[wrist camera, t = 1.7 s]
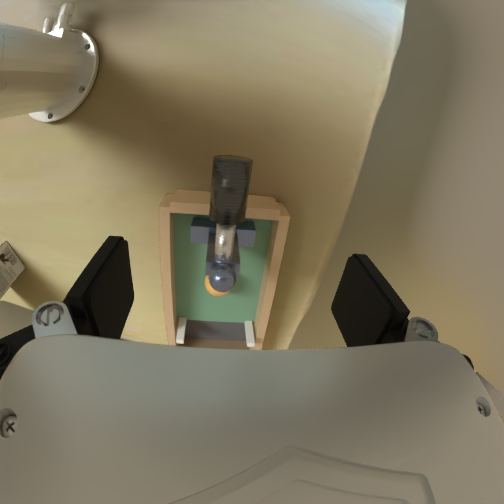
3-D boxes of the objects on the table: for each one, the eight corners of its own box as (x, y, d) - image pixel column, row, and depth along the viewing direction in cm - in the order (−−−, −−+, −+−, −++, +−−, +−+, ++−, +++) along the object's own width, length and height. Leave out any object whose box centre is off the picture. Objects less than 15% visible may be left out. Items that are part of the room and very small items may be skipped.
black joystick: (198, 143, 26) (181, 163, 17) (263, 149, 28) (286, 173, 18) (192, 240, 32) (180, 302, 22) (250, 244, 33) (262, 307, 23)
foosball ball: (205, 262, 34) (204, 278, 31) (233, 264, 35) (234, 280, 32) (204, 284, 36) (203, 301, 33) (230, 286, 36) (231, 302, 33)
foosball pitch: (167, 188, 30) (155, 206, 25) (283, 198, 32) (295, 216, 27) (173, 340, 43) (169, 368, 38) (254, 344, 45) (258, 372, 40)
